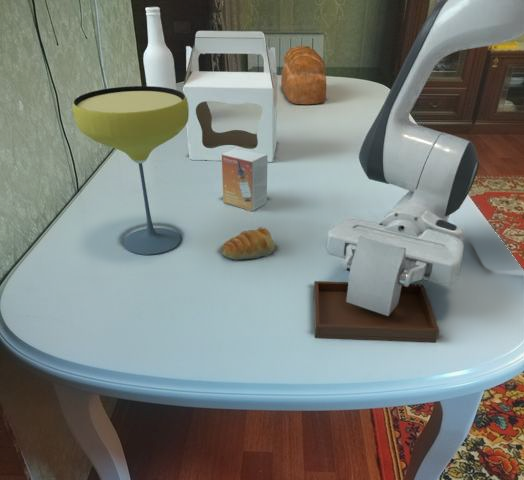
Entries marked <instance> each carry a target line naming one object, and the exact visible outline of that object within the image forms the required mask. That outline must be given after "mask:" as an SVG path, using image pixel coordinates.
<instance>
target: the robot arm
mask: <svg viewBox="0 0 524 480" xmlns="http://www.w3.org/2000/svg"><path fill="white" fill-rule="evenodd" d="M522 36H524V0H439V1H438V2H437V4H436V5H435V6H434V8H432V10H431V12H430V13H429V14H428V16H427V18H426V20H425V21H424V22H423V25H422V26H421V28H420V30H419V32H418V34H417V35H416V38H415V40H414V41H413V44H412V46H411V47H410V50H409V52H408V54H407V55H406V57H405V59H404V62H403V64H402V65H401V67H400V70H399V71H398V74H397V76H396V78H395V80H394V82H393V84H392V86H391V88H390V91H389V92H388V94H387V96H386V98H385V101H384V102H383V104H382V106H381V109H380V110H379V112H378V114H377V115H376V117H375V119H374V121H373V123H372V124H371V126H370V128H369V129H368V131H367V132H366V135H364V138H363V140H362V143H361V145H360V149H359V153H358V160H359V163H360V166H361V168H362V170H363V172H364V174H365V176H366V177H367V179H369V180H371V181H375V182H379V183H383V184H386V185H392V186H395V187H397V188H401V189H404V190H406V191H407V192H406V193H405V194H404V195H403V196H402V197H401V198H400V199H399V201H397V203H396V204H395V205H394V206H393V207H392V208H391V209H390V210H389V211H388V212H387V214H386V215H385V216H384V217H383V218H382V219H381V221H379V223H373V222H369V221H364V220H361V219H356V218H355V219H354V218H351V219H346V220H344V221H342V222H340V223H338V224H337V225H335V226H333V227H332V228H331V229H330V230H329V231H328V232H327V235H326V241H325V250H326V252H327V254H328V255H330V256H333V257H337V258H339V259H344V260H343V266H342V267H343V268H342V269H343V270H344V271H348V272H350V267H351V264H352V260H353V257H354V254H355V250H356V247H357V243H358V239H359V237H360V236H363V237H367V238H371V239H374V240H378V241H382V242H385V243H389V244H392V245H396V246H400V247H403V248H406V252H405V269H403V270H402V272H401V273H400V275H399V278H398V279H399V280H398V284H399V285H403V286H406V287H408V286H409V284H412V283H415V282H419V281H422V280H426V281H429V282H432V283H436V284H441V285H444V286H449V285H453V284H455V283H456V280H457V277H458V274H459V271H460V267H461V263H462V259H463V255H464V250H465V245H464V242H463V241H464V235H465V234H464V233H465V229H464V227H461V226H459V225H457V224H454V223H451V222H449V221H448V220H449V218H450V215H452V214H454V213H456V212H457V211H458V210H459V209H460V208H461V206H462V205H463V203H464V202H465V200H466V198H467V197H468V195H469V193H470V191H471V189H472V187H473V185H474V182H475V180H476V177H477V174H478V171H479V167H480V160H479V156H478V152H477V149H476V146H475V144H474V143H473V141H471V140H468V139H465V138H462V137H460V136H457V135H453V134H450V133H447V132H444V131H438V130H435V129H433V128H429V127H426V126H423V125H420V124H417V123H414V122H412V121H411V119H410V114H411V112H412V110H413V108H414V106H415V105H416V103H417V101H418V99H419V97H420V94H421V93H422V91H423V89H424V87H425V85H426V84H427V82H428V80H429V77H430V76H431V74H432V72H433V70H434V69H435V67H436V66H437V65H438V63H440V61H442V60H443V59H444V58H445V57H447V56H449V55H451V54H453V53H456V52H460V51H466V50H470V49H478V48H483V47H491V46H495V45H496V46H497V45H501V44H504V43H505V44H506V43H508V42H511V41H513V40H515V39H517V38H520V37H522Z"/></svg>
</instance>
